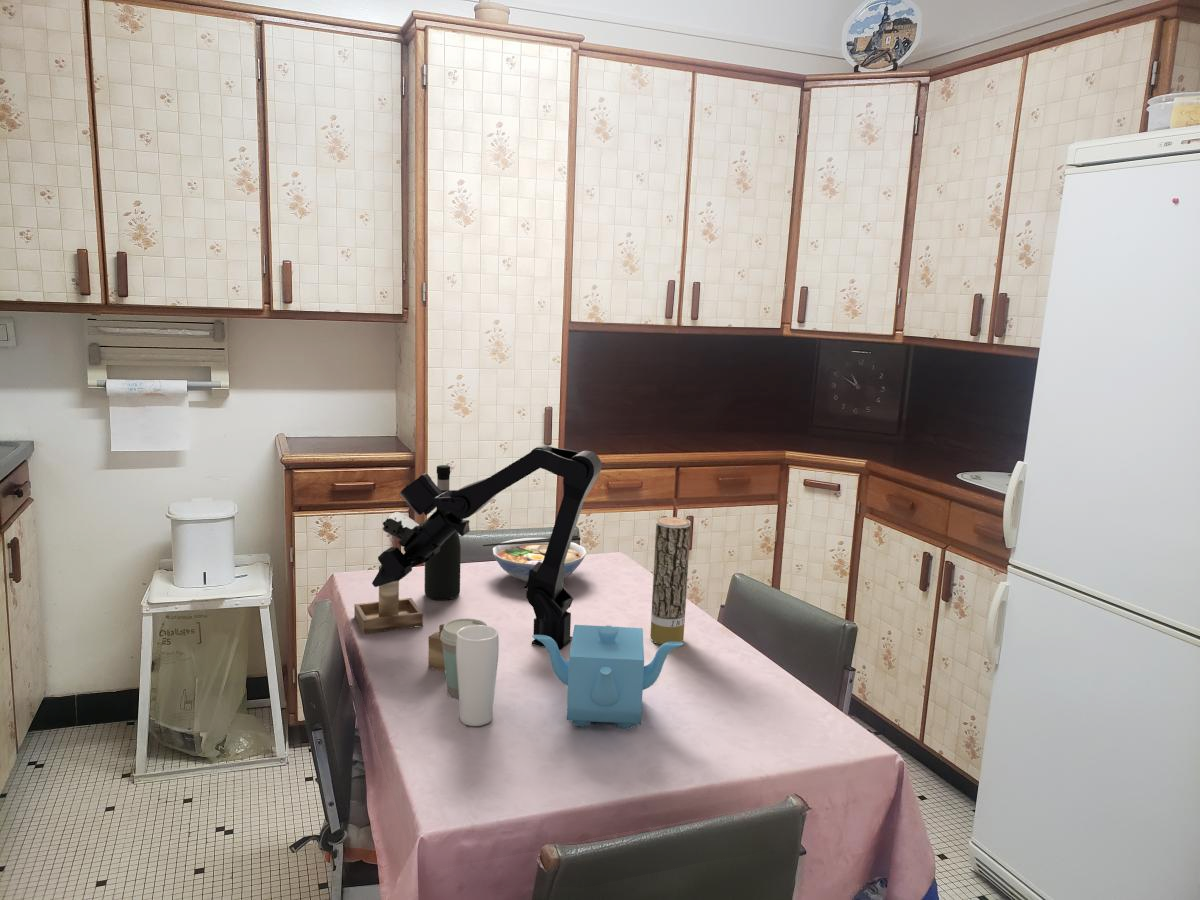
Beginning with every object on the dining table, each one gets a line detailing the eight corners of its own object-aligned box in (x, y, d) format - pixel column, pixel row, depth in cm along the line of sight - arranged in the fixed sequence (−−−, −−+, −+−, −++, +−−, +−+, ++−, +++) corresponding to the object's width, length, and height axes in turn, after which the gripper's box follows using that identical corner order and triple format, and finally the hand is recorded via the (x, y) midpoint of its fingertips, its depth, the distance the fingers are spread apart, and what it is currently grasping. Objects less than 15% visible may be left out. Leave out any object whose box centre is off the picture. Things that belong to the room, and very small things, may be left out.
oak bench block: (437, 661, 165) (437, 621, 164) (484, 672, 162) (484, 630, 160) (428, 667, 163) (428, 626, 161) (475, 678, 159) (476, 636, 158)
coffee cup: (479, 705, 149) (481, 638, 146) (431, 699, 150) (432, 632, 148) (495, 684, 157) (497, 620, 155) (450, 678, 158) (450, 614, 156)
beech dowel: (402, 617, 184) (403, 566, 183) (386, 622, 181) (387, 570, 179) (390, 612, 187) (390, 562, 185) (374, 617, 184) (374, 566, 182)
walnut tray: (411, 610, 191) (411, 597, 191) (422, 626, 182) (423, 613, 182) (354, 616, 186) (354, 604, 186) (363, 633, 177) (363, 620, 177)
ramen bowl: (500, 599, 200) (501, 564, 199) (477, 569, 221) (477, 537, 220) (603, 590, 209) (605, 557, 208) (571, 562, 230) (572, 531, 229)
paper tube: (645, 643, 178) (651, 522, 174) (656, 631, 185) (662, 515, 180) (677, 649, 176) (685, 527, 171) (687, 637, 182) (694, 519, 178)
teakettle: (606, 680, 161) (609, 602, 158) (684, 717, 147) (688, 633, 145) (524, 710, 148) (526, 626, 145) (602, 754, 134) (605, 663, 132)
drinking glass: (462, 733, 139) (464, 643, 137) (449, 714, 145) (450, 627, 142) (503, 725, 142) (505, 636, 140) (488, 707, 148) (490, 622, 146)
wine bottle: (417, 595, 201) (417, 465, 196) (444, 587, 207) (446, 461, 202) (439, 604, 196) (440, 471, 190) (467, 595, 202) (469, 466, 196)
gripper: (426, 492, 188) (379, 537, 192) (387, 512, 170) (335, 561, 174) (461, 531, 187) (412, 576, 192) (425, 555, 170) (372, 604, 174)
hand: (384, 578), depth 183 cm, fingers open, 9 cm apart
